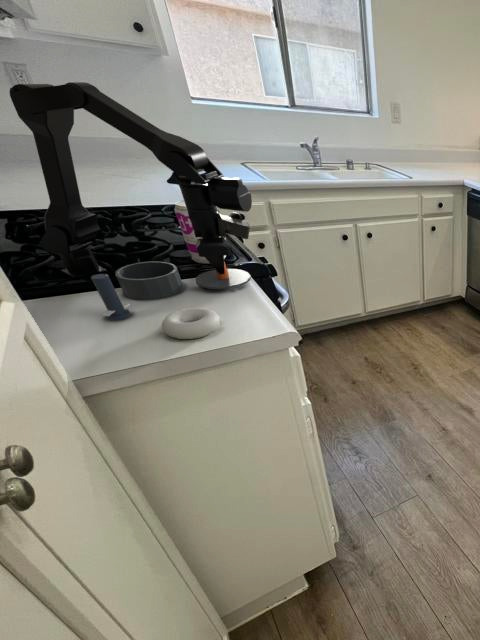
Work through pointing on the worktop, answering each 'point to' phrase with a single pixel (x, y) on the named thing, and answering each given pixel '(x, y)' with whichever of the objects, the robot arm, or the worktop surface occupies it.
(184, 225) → the supplement can
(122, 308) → the food processor blade
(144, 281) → the bowl
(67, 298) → the worktop surface
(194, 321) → the donut
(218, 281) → the bowl lid
